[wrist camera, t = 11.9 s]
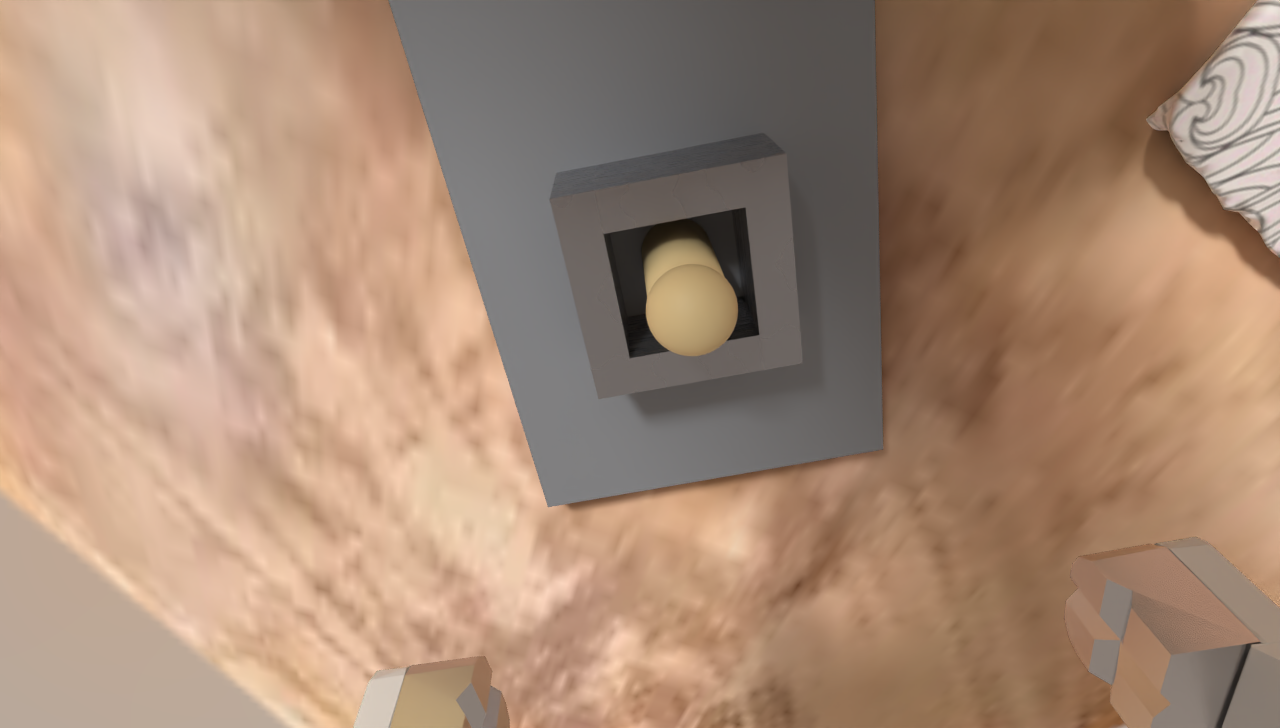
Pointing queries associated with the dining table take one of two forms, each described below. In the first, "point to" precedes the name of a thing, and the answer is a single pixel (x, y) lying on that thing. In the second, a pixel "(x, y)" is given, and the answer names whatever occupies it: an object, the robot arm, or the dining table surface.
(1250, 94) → the cookie jar
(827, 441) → the keeper board
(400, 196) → the dining table surface
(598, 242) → the hollow square frame
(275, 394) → the dining table surface
